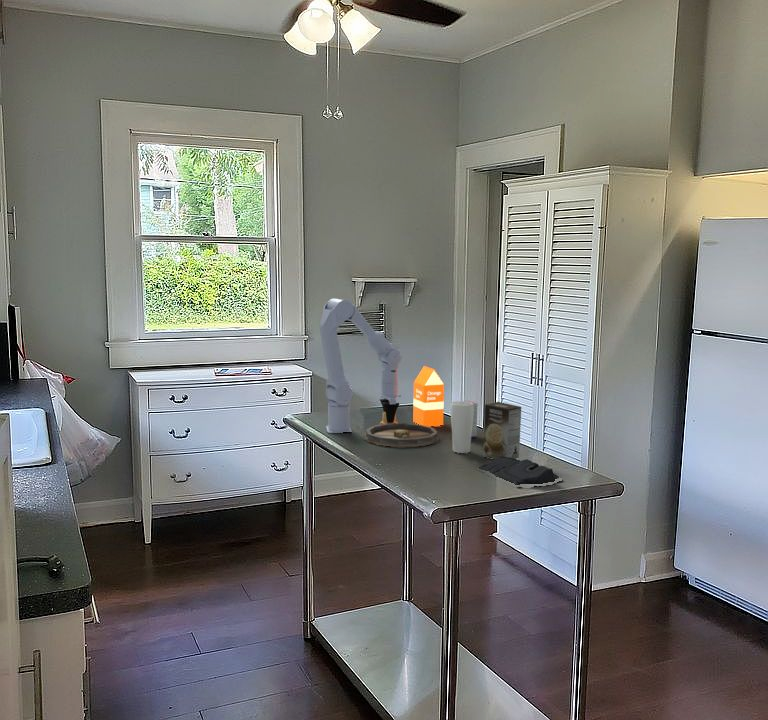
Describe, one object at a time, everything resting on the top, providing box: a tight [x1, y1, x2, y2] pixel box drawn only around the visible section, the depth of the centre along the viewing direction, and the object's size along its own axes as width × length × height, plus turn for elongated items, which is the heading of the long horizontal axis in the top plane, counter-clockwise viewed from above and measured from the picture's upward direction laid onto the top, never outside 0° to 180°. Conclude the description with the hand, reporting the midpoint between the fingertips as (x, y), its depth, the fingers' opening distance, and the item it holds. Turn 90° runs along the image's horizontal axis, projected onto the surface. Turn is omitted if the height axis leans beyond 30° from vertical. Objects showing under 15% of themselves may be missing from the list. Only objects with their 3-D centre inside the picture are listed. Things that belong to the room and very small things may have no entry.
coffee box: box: [482, 401, 522, 459], centre depth 228 cm, size 9×6×16 cm
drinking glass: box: [450, 400, 474, 454], centre depth 235 cm, size 7×7×15 cm
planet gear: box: [379, 411, 399, 425], centre depth 271 cm, size 6×6×4 cm
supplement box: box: [465, 400, 478, 439], centre depth 255 cm, size 6×6×12 cm
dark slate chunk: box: [477, 456, 560, 485], centre depth 212 cm, size 15×22×5 cm
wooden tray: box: [363, 422, 440, 448], centre depth 253 cm, size 24×24×3 cm
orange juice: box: [412, 365, 445, 428], centre depth 273 cm, size 8×9×20 cm
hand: (389, 420), depth 271 cm, fingers closed on planet gear, 4 cm apart
